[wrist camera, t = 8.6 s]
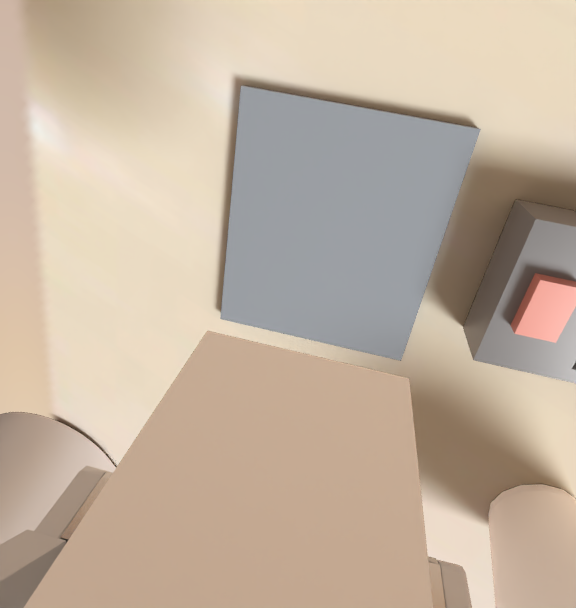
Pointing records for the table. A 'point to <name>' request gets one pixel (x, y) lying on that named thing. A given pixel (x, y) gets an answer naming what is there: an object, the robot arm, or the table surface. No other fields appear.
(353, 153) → the rubber mat
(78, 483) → the robot arm
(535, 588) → the foam cup
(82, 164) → the table surface
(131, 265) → the table surface
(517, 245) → the power strip
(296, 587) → the block
